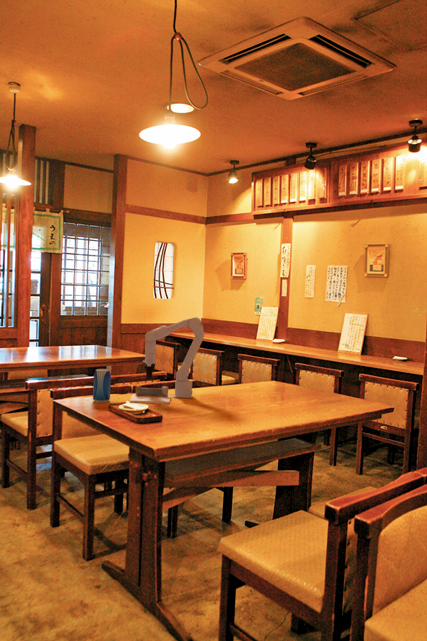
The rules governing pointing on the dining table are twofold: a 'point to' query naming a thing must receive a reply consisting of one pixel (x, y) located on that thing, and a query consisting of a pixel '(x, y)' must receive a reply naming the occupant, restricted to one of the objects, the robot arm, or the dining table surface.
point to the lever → (152, 391)
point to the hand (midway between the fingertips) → (149, 377)
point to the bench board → (150, 399)
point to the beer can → (101, 386)
